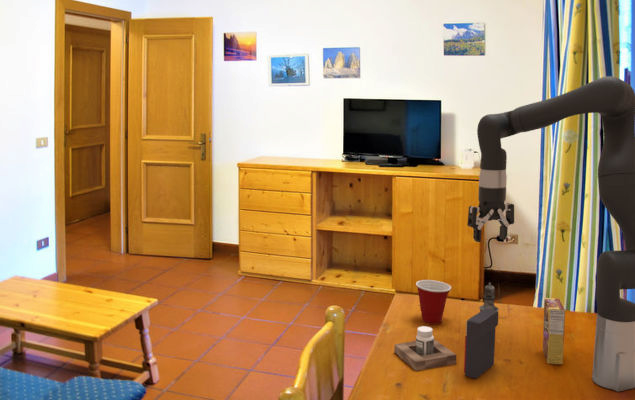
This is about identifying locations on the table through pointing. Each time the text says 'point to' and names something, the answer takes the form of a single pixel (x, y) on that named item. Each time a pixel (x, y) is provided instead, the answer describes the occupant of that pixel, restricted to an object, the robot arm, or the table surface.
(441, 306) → the plastic cup
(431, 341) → the pill bottle
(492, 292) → the rusty flanged peg
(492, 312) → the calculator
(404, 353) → the gray square frame
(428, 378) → the table surface
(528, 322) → the table surface
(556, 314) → the candy box
